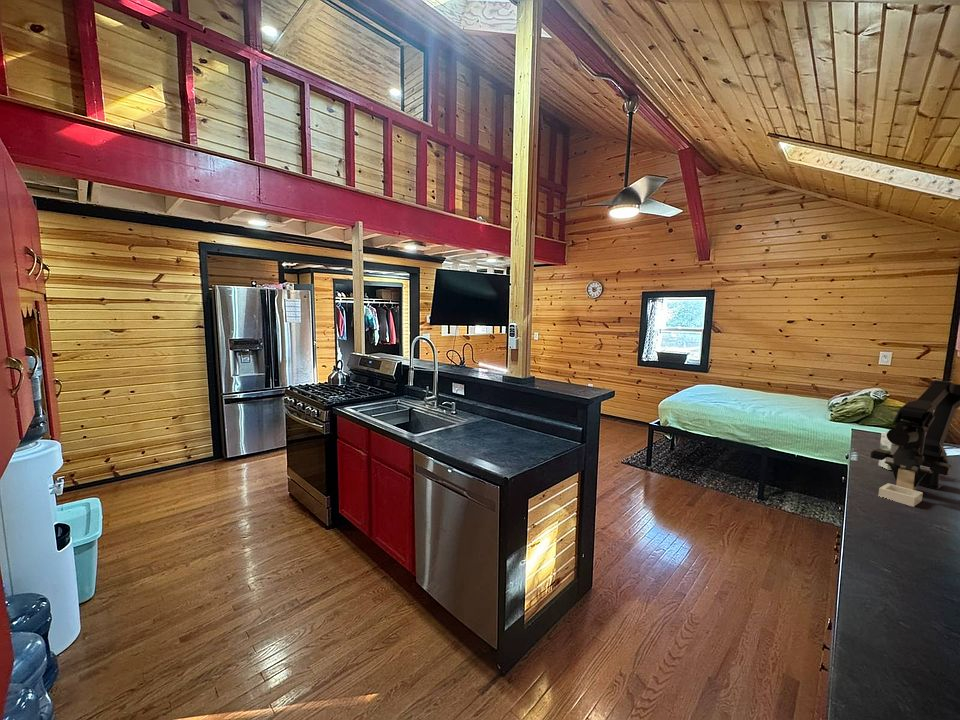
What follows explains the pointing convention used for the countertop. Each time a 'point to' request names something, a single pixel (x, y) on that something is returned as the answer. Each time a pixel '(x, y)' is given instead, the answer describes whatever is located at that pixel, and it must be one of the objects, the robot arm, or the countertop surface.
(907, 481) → the wooden peg
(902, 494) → the cream square ring
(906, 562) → the countertop surface
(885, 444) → the syrup box
